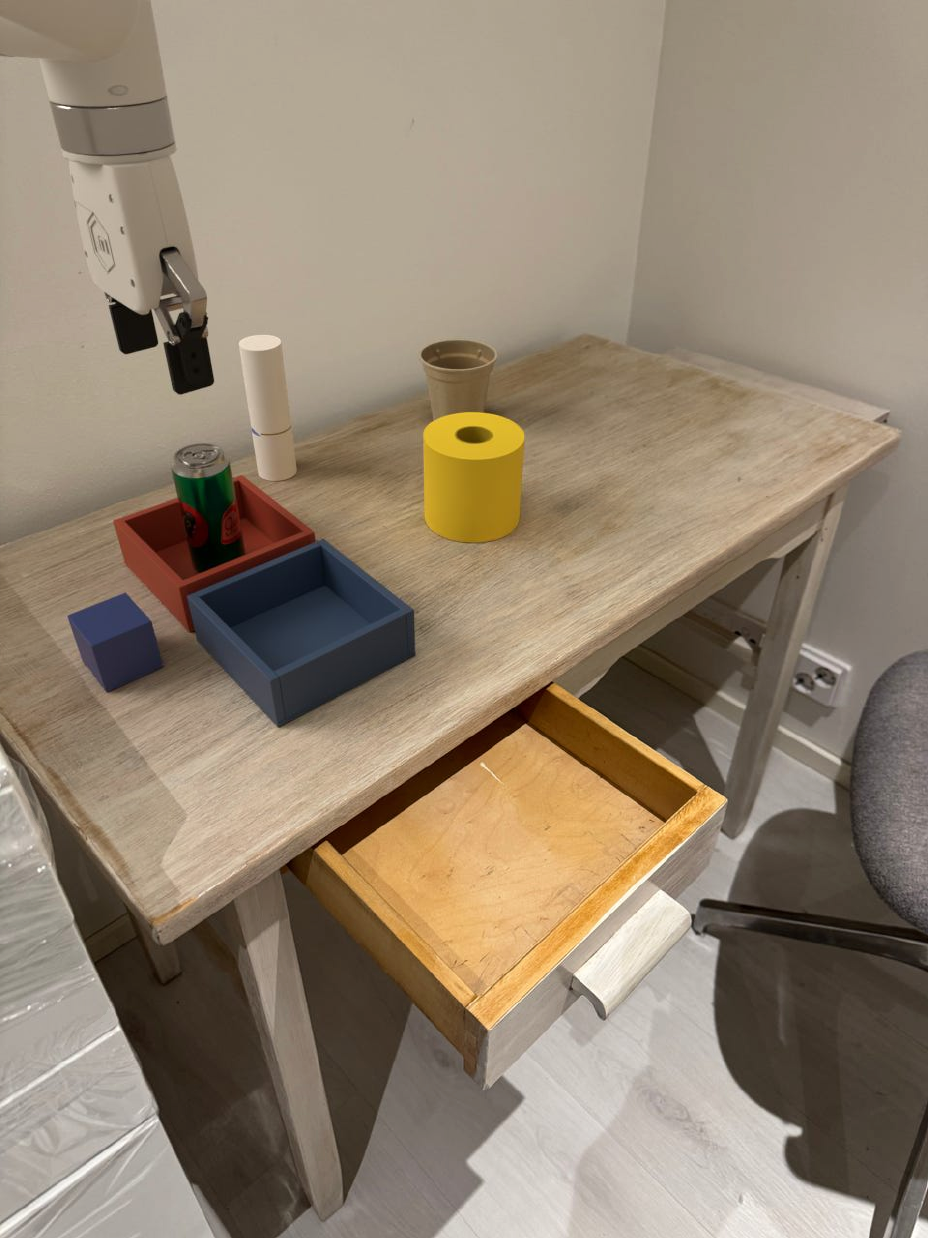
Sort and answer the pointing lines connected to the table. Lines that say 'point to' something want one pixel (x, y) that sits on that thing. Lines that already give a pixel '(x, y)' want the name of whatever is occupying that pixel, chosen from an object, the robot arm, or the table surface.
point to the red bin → (164, 554)
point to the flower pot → (457, 375)
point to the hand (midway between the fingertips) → (166, 368)
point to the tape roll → (472, 476)
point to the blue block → (116, 641)
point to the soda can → (208, 505)
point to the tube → (268, 406)
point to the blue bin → (302, 629)
